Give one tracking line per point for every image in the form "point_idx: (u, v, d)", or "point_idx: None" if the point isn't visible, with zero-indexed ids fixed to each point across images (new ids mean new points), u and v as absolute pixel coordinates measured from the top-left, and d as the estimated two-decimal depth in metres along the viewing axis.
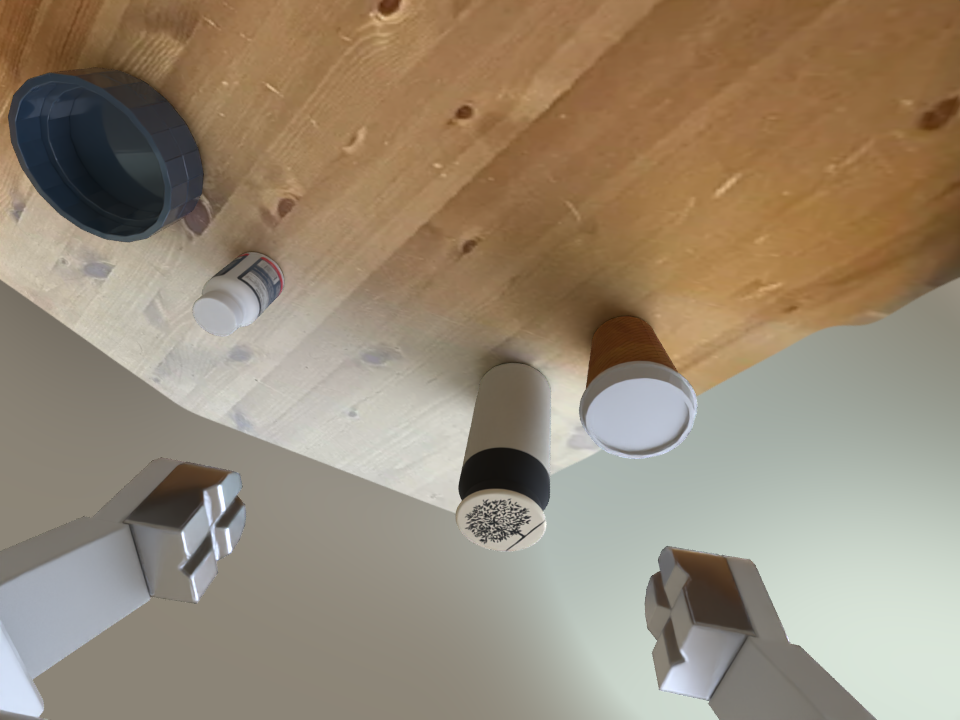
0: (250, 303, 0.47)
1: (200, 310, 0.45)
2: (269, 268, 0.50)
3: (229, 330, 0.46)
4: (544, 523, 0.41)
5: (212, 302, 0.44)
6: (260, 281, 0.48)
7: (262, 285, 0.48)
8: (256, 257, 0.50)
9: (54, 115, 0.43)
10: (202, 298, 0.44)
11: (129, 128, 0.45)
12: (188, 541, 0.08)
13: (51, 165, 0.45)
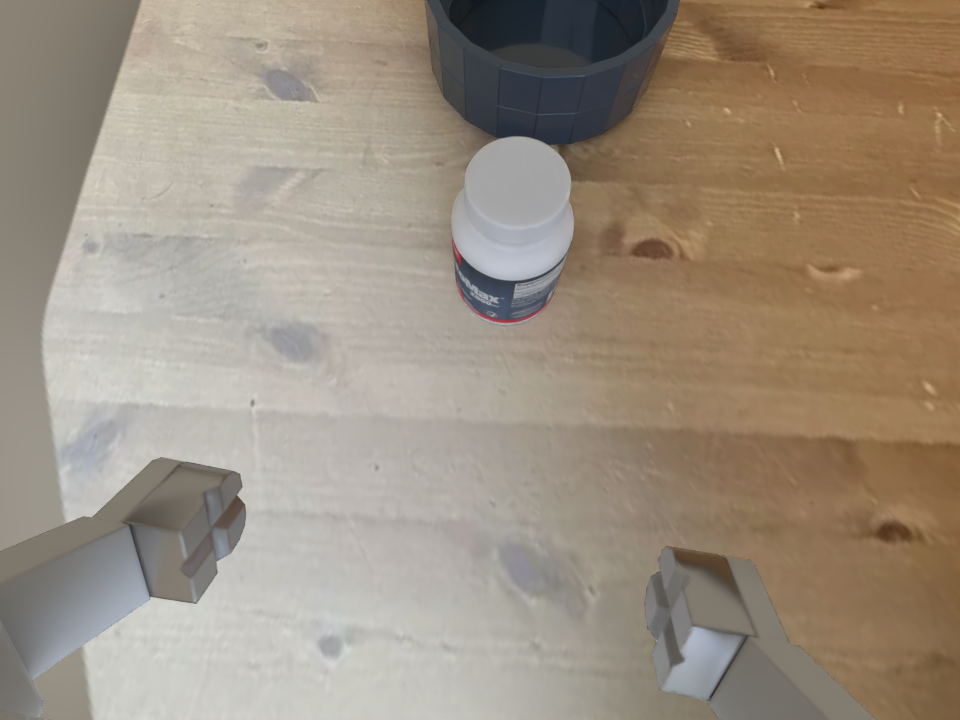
0: (558, 246, 0.21)
1: (510, 152, 0.19)
2: None
3: (514, 219, 0.18)
4: None
5: (554, 161, 0.19)
6: None
7: (563, 265, 0.23)
8: None
9: None
10: (542, 143, 0.19)
11: (572, 41, 0.31)
12: (188, 542, 0.08)
13: None
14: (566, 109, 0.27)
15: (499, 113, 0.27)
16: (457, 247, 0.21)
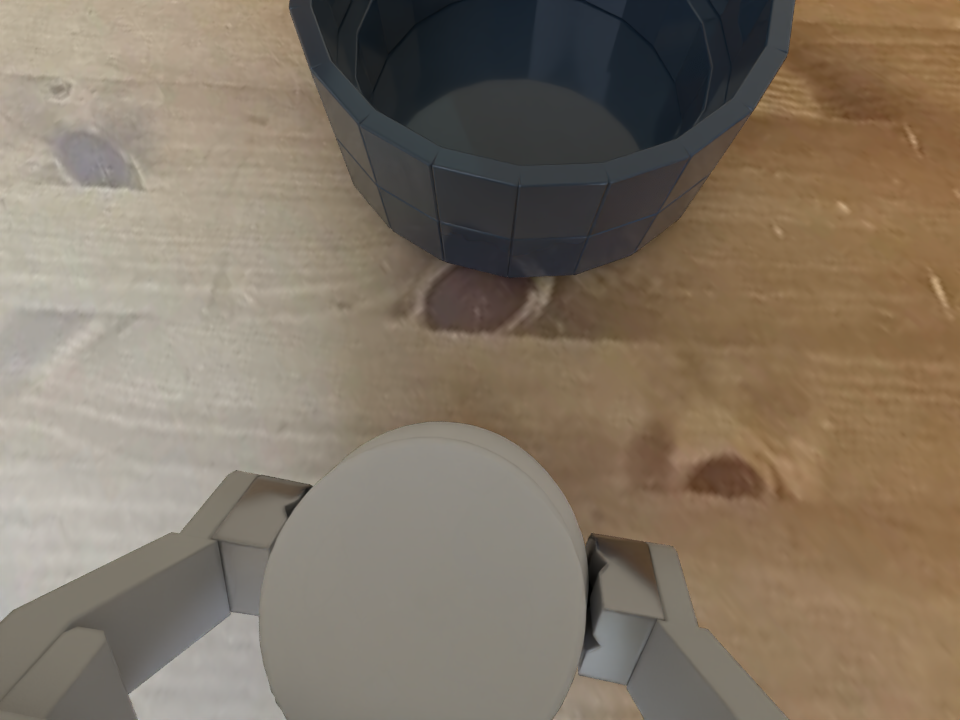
0: None
1: (405, 495, 0.06)
2: None
3: None
4: None
5: (536, 528, 0.06)
6: None
7: None
8: None
9: None
10: (501, 461, 0.07)
11: (577, 86, 0.18)
12: None
13: None
14: (568, 232, 0.14)
15: (442, 232, 0.15)
16: None
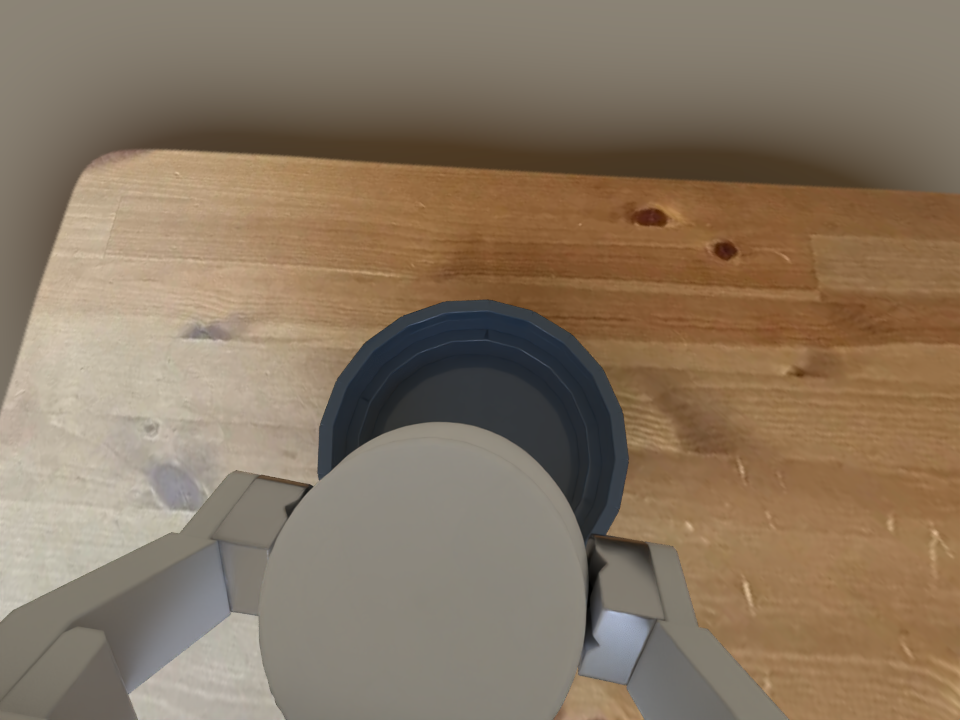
0: None
1: (405, 496, 0.06)
2: None
3: None
4: None
5: (535, 529, 0.06)
6: None
7: None
8: None
9: (460, 345, 0.26)
10: (501, 462, 0.07)
11: (510, 437, 0.27)
12: None
13: (377, 369, 0.25)
14: None
15: None
16: None
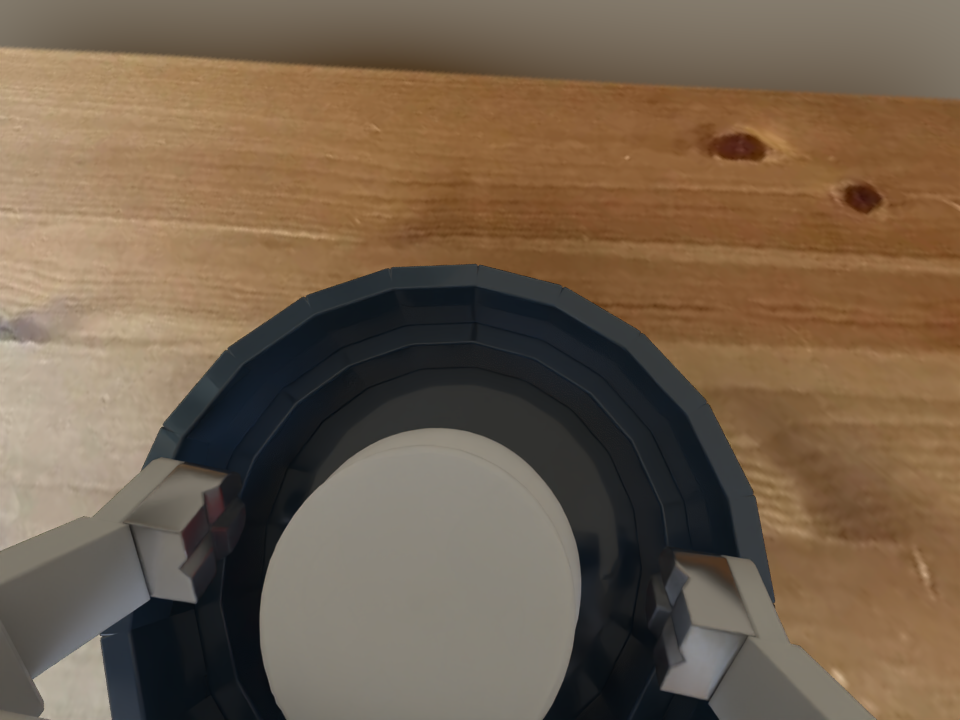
0: None
1: (401, 502, 0.07)
2: None
3: None
4: None
5: (527, 535, 0.07)
6: None
7: None
8: None
9: (427, 351, 0.15)
10: (494, 469, 0.07)
11: None
12: (188, 542, 0.08)
13: (271, 397, 0.14)
14: None
15: None
16: None
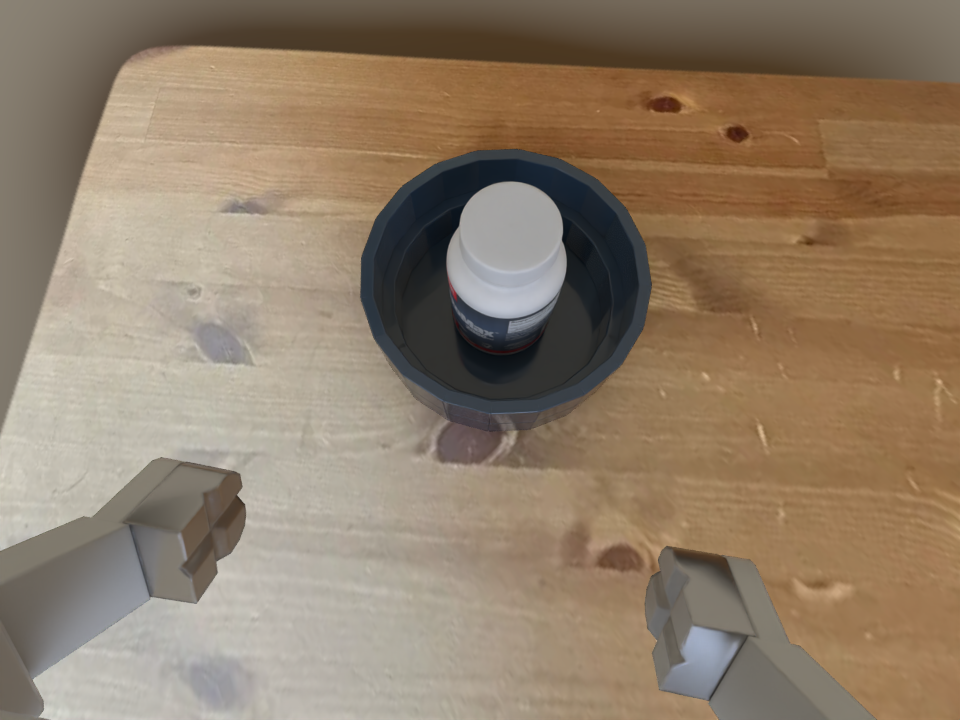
0: (551, 286, 0.21)
1: (504, 197, 0.20)
2: None
3: (507, 264, 0.19)
4: None
5: (546, 206, 0.20)
6: None
7: (556, 300, 0.24)
8: None
9: None
10: (535, 188, 0.20)
11: None
12: (187, 541, 0.08)
13: (411, 223, 0.27)
14: (521, 421, 0.24)
15: (448, 414, 0.24)
16: (453, 285, 0.22)
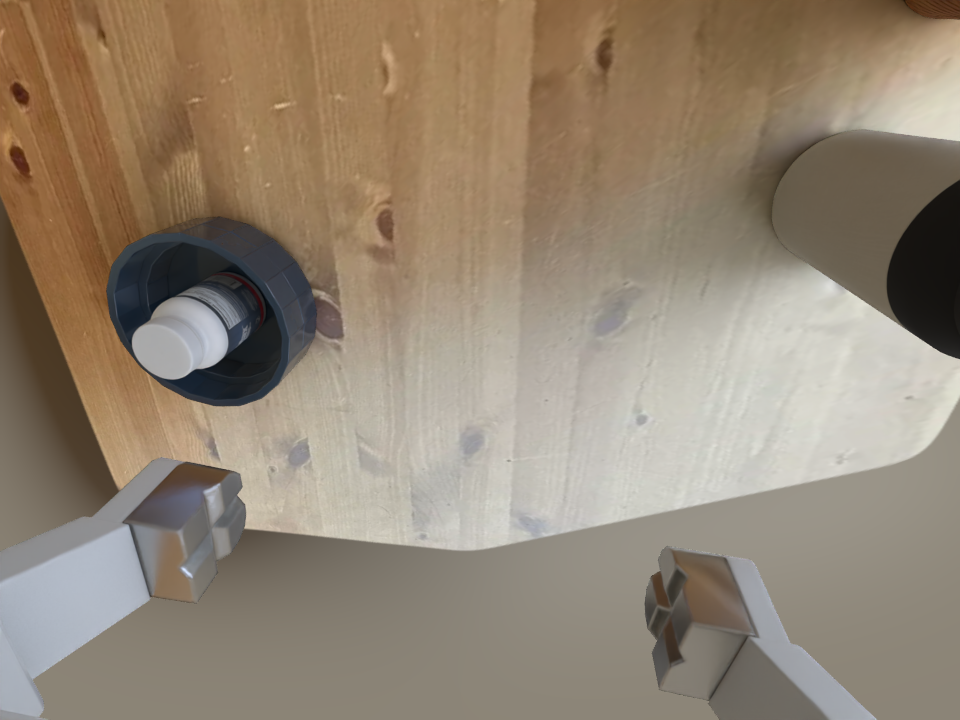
0: (196, 313, 0.34)
1: (145, 356, 0.33)
2: (220, 277, 0.38)
3: (186, 355, 0.32)
4: None
5: (142, 333, 0.32)
6: (206, 289, 0.36)
7: (209, 292, 0.35)
8: None
9: None
10: (133, 338, 0.32)
11: None
12: (188, 542, 0.08)
13: None
14: (297, 306, 0.37)
15: (305, 344, 0.39)
16: (215, 363, 0.36)
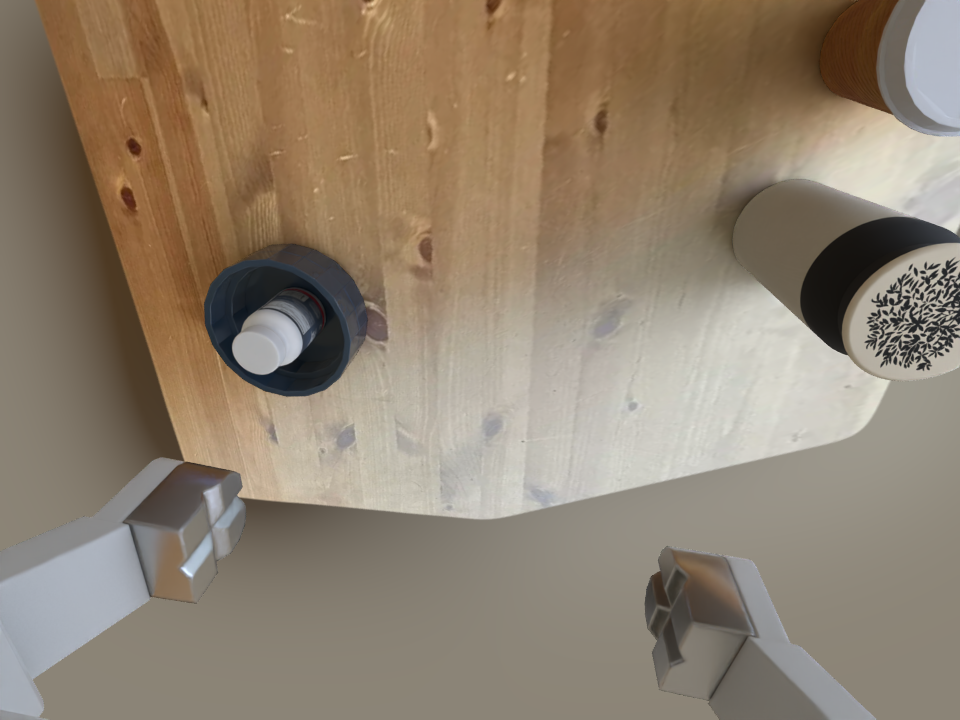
0: (280, 322, 0.43)
1: (242, 356, 0.42)
2: (291, 292, 0.47)
3: (274, 355, 0.41)
4: None
5: (241, 338, 0.41)
6: (284, 302, 0.45)
7: (287, 304, 0.45)
8: (278, 293, 0.47)
9: (240, 325, 0.49)
10: (233, 342, 0.41)
11: None
12: (188, 541, 0.08)
13: None
14: (355, 315, 0.46)
15: (359, 346, 0.48)
16: (290, 362, 0.45)
